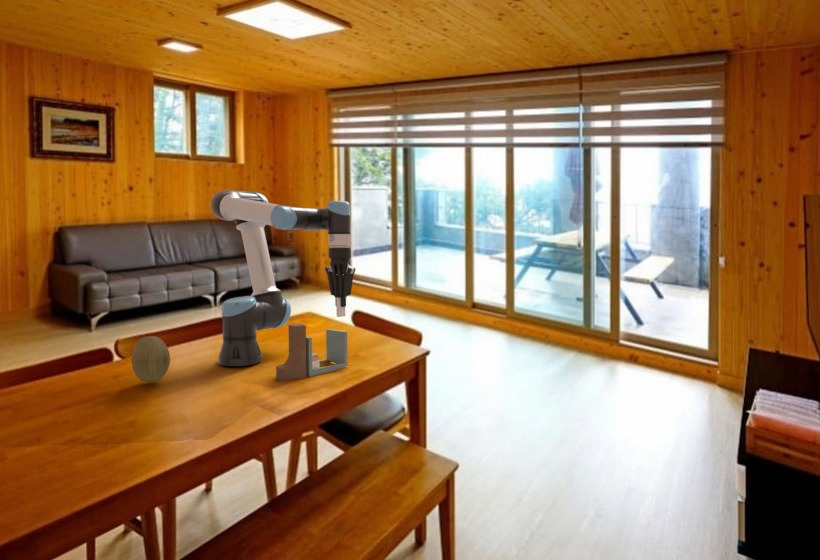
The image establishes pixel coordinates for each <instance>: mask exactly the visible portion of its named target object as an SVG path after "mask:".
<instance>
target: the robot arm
mask: <svg viewBox="0 0 820 560" xmlns="http://www.w3.org/2000/svg"><path fill="white" fill-rule="evenodd" d="M210 210H211V212H212V214H213V215H214V216H215V217H216V218H218V219H220V220H223V221H226V222H234V224H235V227H236V229H237V230H238V231H240V233H241V238H242V242H243V247H244V254H245V257H246V263H247V267H248V272H249V278H250V283H251V287H252V291H253V292H252V293H251V295H245V296H243V295H242V296H237V297H236V296H235V297H231V298H228V299H226V300H225V301H223V303H222V306H221V307H222V308H221V316H222V319H221V320H222V321H221V322H222V345H221V348H220V351H219V355H218V364H219V366H225V367H243V366H250V365H255V364H259V363H261V362H262V361H263V354H262V351H261V348H260V345H259V343H258V340H257V338H258V337H257V332H258V331H263V330H268V329H277V328H280V327H283V326H285V325H286V324H287V323H288V322H289V320H290V318H291V313H292V307H291V306H292V305H291V302H290V301H289V300H288V298H287V297H285V296H284V295H282V291H281V289H279V288H277V285H276V282H275V276H274V273H273V267H272V262H271V257H270V253H269V252H270V251H269V247H268V242H267V239H266V232H265V227H266V226H271V227H274V228H275V229H278V230H284V231H289V230H294V231H295V230H296V231H297V230H298V231H311V232H316V231H326V230H327V234H328V239H327V240H328V247H329V248H328V259H330V262H329V266H328V267H325V268H324V269H325V270H324V271H325V273H326V275H327V276H326V277H327V279H328V280H327V281H328V286H329V291H330V295H331V296H334V299H335V300H334V301H335V302H334V304H335V307H336V310H335V311H336V317H337V318H343V317H346V307H347V297H348V296H351V293H352V286H353V282H354V281H353V280H354V274H355V272H356V270H357V269H356V267H352V266H351V262H350V259H351V258H352V248H351V246H352V237H351V214H352V213H351V206H350V203H349V202H348V201H346V200H345V201H344V200H331V201H328V202H327V207H323V208H311V207H298V206H297V207H296V206H288V205H284V204H276V203H271V202H269V201H268V199H267V198H266V196H265V195H264V194H262V193H261V192H255V191H247V190H246V191H244V190H235V189H234V190H233V189H224V190H220V191H218V192H216V193H215V194H213V196H212V198H211V200H210Z"/></svg>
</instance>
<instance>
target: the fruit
mask: <svg viewBox="0 0 820 560" xmlns="http://www.w3.org/2000/svg"><path fill="white" fill-rule="evenodd" d="M170 362H171V355H170V350H169V348H168V346H167V345H166V343H165V342H164V340H162V338H160V337H158V336H152V335H149V336H145V337H142V338H140V339H139V340H138V341H137V342H136V344H135V346H134V348H133V349H132V353H131V367H132V370H133V373H134V374H135V376H136V377H137V379H139V380H140V381H141V382H144V383H155V382H157V381H159V380H161V379H162V378H164V377H165V375H166V373H167V372H168V369H169V368H170V367H169V366H170V364H171V363H170Z"/></svg>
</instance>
